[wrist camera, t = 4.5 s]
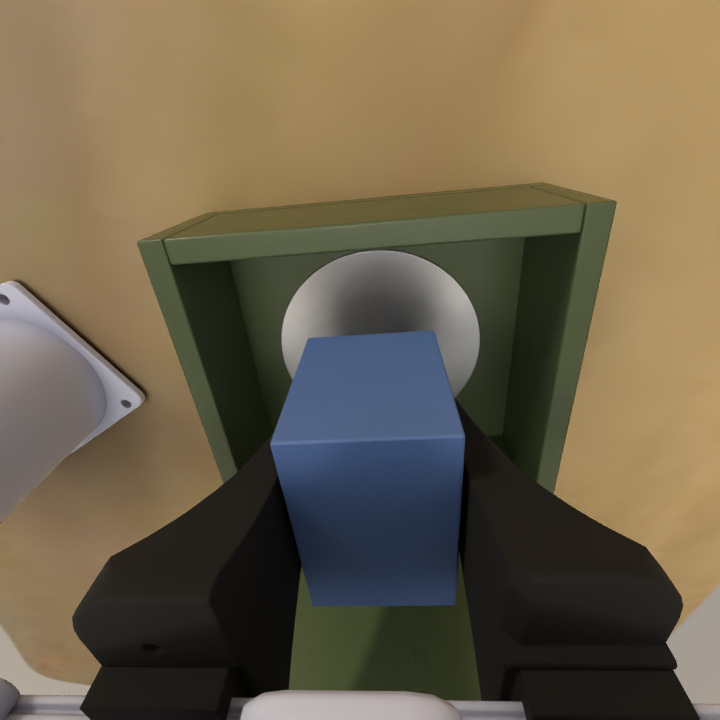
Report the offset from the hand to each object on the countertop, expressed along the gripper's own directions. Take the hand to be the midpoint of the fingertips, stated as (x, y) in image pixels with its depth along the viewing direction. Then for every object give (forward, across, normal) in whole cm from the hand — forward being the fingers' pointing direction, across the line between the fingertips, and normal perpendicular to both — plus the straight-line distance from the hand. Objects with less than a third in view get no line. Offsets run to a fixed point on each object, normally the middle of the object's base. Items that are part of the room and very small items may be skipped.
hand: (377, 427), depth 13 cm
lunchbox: (+7, 0, 0) cm, 7 cm away
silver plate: (+7, 0, 0) cm, 7 cm away
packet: (+1, 0, 0) cm, 1 cm away
